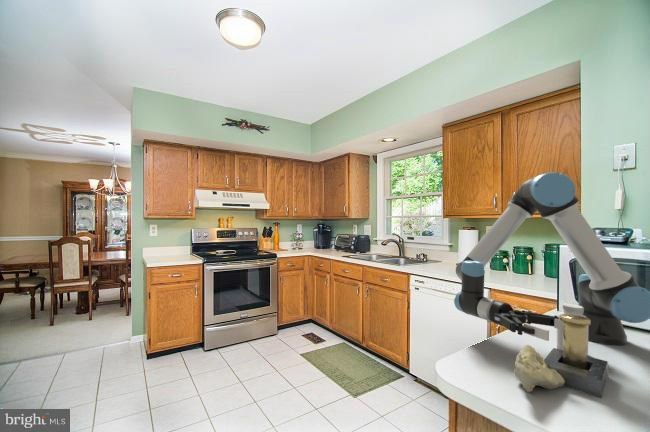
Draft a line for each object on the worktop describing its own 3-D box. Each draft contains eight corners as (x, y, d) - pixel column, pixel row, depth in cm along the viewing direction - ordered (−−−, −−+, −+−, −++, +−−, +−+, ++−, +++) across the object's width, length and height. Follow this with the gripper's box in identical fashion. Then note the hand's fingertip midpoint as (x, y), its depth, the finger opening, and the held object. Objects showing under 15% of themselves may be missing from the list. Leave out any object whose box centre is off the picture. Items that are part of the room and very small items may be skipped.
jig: (553, 361, 94) (553, 347, 94) (607, 376, 85) (607, 361, 85) (540, 378, 83) (540, 363, 83) (601, 398, 74) (601, 381, 74)
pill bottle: (594, 359, 96) (594, 309, 96) (564, 356, 98) (565, 307, 98) (579, 349, 104) (579, 303, 104) (551, 346, 106) (552, 301, 106)
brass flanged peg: (572, 371, 88) (572, 313, 88) (596, 382, 81) (597, 320, 82) (553, 372, 86) (554, 314, 87) (576, 384, 80) (577, 321, 80)
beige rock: (536, 380, 86) (492, 342, 88) (560, 367, 83) (513, 328, 84) (552, 429, 72) (499, 384, 74) (581, 416, 69) (525, 368, 71)
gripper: (521, 319, 110) (591, 341, 91) (467, 326, 101) (533, 352, 81) (521, 298, 111) (591, 315, 91) (468, 303, 101) (534, 323, 81)
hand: (564, 332), depth 86 cm, fingers open, 13 cm apart
